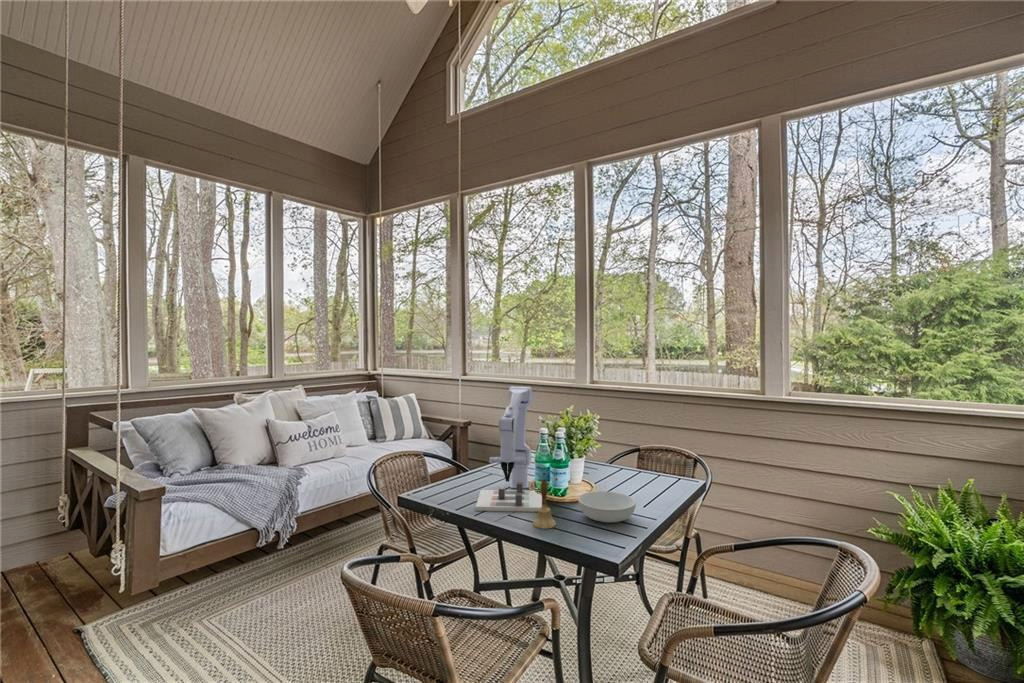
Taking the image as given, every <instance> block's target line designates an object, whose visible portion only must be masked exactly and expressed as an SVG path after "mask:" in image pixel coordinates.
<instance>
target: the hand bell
mask: <svg viewBox="0 0 1024 683" xmlns="http://www.w3.org/2000/svg"><path fill="white" fill-rule="evenodd" d="M548 487H549V486H548V483H547V479H546V478H542V479H541V483H540V488H539V489H540V490H539V491H541V495H542V507H541V508H539V509H538V512H537V513H536V514H537V515H536V518H535V519H534V520H533V522H532V525H533V527H535V528H537V529H544V530H545V529H546V530H547V529H553V528H554V527H556V525H557V523H556V521H555V520H554V519H553V517H552V512H551V508H549V507H548V506H547V495H548V490H549V489H548Z"/></svg>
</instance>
